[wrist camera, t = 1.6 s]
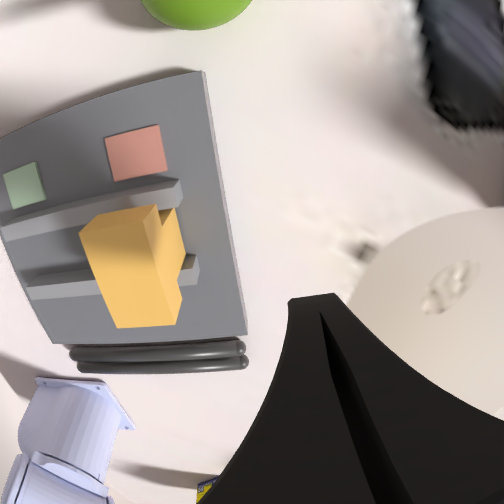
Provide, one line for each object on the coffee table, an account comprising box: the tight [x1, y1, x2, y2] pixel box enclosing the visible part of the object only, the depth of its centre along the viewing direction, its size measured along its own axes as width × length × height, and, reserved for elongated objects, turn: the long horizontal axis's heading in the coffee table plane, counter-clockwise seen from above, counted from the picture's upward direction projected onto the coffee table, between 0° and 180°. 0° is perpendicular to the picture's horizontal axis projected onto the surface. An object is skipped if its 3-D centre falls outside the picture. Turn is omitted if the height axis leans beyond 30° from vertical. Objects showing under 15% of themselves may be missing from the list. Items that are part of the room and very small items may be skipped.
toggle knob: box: [79, 204, 186, 328], centre depth 15 cm, size 3×5×5 cm, turn 8°
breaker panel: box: [0, 71, 249, 374], centre depth 18 cm, size 16×20×3 cm
